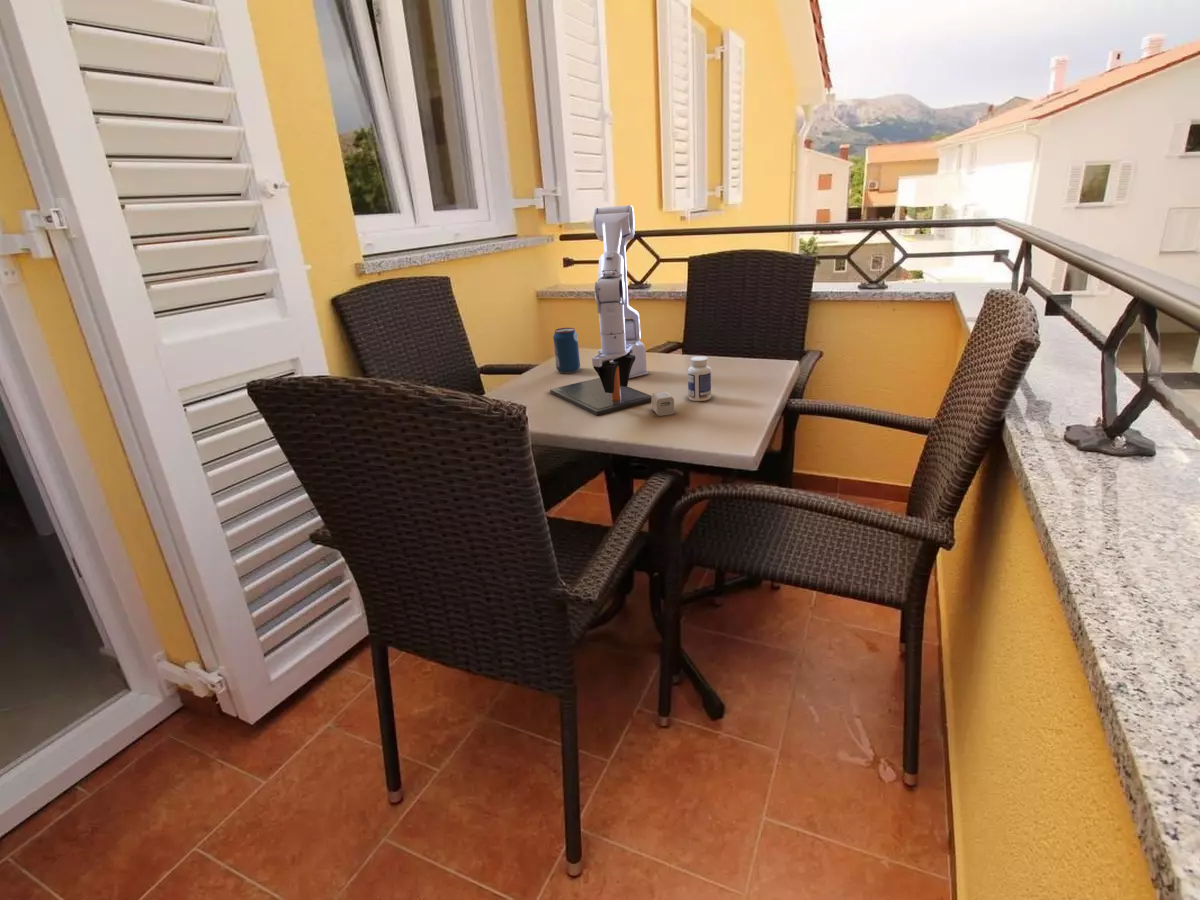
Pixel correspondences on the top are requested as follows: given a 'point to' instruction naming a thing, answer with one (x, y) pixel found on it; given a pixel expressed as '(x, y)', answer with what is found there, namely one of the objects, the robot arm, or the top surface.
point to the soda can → (566, 350)
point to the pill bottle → (699, 379)
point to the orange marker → (616, 384)
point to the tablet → (599, 396)
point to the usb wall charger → (662, 403)
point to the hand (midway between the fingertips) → (616, 389)
